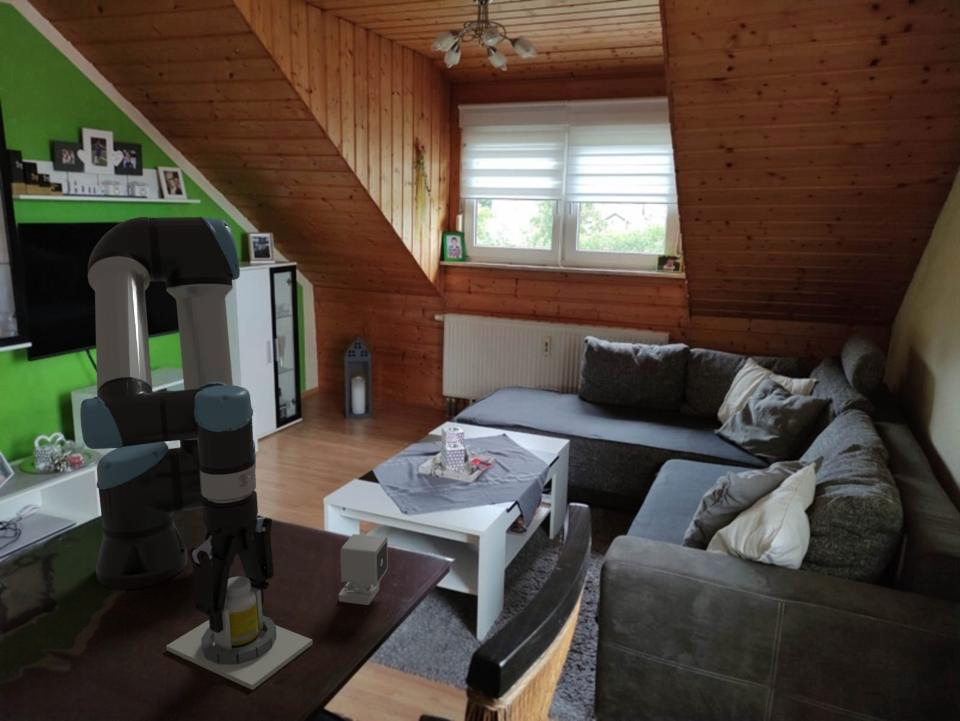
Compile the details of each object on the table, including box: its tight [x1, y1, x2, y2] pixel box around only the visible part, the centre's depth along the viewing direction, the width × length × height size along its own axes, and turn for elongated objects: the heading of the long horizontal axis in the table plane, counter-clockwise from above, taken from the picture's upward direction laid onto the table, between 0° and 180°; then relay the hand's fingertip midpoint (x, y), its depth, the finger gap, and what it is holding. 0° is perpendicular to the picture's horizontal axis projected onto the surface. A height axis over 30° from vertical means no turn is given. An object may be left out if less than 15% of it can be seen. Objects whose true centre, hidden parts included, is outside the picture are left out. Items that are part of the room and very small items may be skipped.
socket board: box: [165, 614, 314, 691], centre depth 105 cm, size 18×12×2 cm, turn 61°
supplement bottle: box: [224, 575, 258, 649], centre depth 104 cm, size 5×5×10 cm
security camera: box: [338, 533, 389, 606], centre depth 119 cm, size 6×7×10 cm
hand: (239, 636), depth 105 cm, fingers closed on supplement bottle, 5 cm apart
